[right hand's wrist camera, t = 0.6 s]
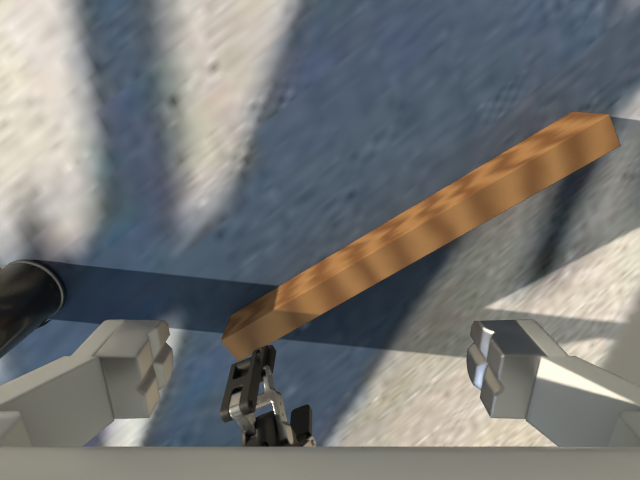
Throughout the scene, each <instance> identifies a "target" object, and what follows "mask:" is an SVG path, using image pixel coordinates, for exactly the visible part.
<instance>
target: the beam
mask: <svg viewBox="0 0 640 480" xmlns="http://www.w3.org/2000/svg"><path fill="white" fill-rule="evenodd" d="M619 146H621V145H620V142H619V139H618V137H617V134H616V131H615V128H614V126H613V123H612V120H611V118H610V115H609V114H597V113H583V112H571V113H569V114H568V115H566V116H564V117H563V118H561V119H559V120H558V121H556V122H554V123H552V124H551V125H549V126H547V127H546V128H544V129H542V130H541V131H539V132H537V133H536V134H534V135H532V136H531V137H529V138H527V139H526V140H524V141H522V142H521V143H519V144H517V145H516V146H514V147H512V148H511V149H509V150H507V151H505V152H504V153H502V154H500V155H499V156H497V157H495V158H494V159H492V160H490V161H489V162H487V163H485V164H484V165H482V166H480V167H479V168H477V169H475V170H474V171H472V172H470V173H469V174H467V175H465V176H464V177H462V178H460V179H458V180H457V181H455V182H453V183H452V184H450V185H448V186H447V187H445V188H443V189H442V190H440V191H438V192H437V193H435V194H433V195H432V196H430V197H428V198H427V199H425V200H423V201H422V202H420V203H418V204H417V205H415V206H413V207H411V208H410V209H408V210H406V211H405V212H403V213H401V214H400V215H398V216H396V217H395V218H393V219H391V220H390V221H388V222H386V223H385V224H383V225H381V226H380V227H378V228H376V229H375V230H373V231H371V232H369V233H368V234H366V235H364V236H363V237H361V238H359V239H358V240H356V241H354V242H353V243H351V244H349V245H348V246H346V247H344V248H343V249H341V250H339V251H338V252H336V253H334V254H333V255H331V256H329V257H328V258H326V259H324V260H322V261H321V262H319V263H317V264H316V265H314V266H312V267H311V268H309V269H307V270H306V271H304V272H302V273H301V274H299V275H297V276H296V277H294V278H292V279H291V280H289V281H287V282H286V283H284V284H282V285H281V286H279V287H277V288H275V289H274V290H272V291H270V292H269V293H267V294H265V295H264V296H262V297H260V298H259V299H257V300H255V301H254V302H252V303H250V304H249V305H247V306H245V307H244V308H242V309H240V310H239V311H237V312H235V313H234V314H232V315H231V317H230V319H229V322H228V324H227V327H226V329H225V332H224V334H223V337H222V339H221V342H222V343H223V344H224V345H225V347H226V348H227V349H228V350H229V351H230V352H231V353H232V355H233V356H234V357H235V358H236V359H237V360H238V361H240V360H242V359H244V358H245V357H247V356H249V355H251V354H252V353H253V351H254V350H256V349H258V348H261V347H263V346H266V345H268V344H270V343H272V342H274V341H275V340H277V339H279V338H281V337H283V336H284V335H286V334H288V333H290V332H291V331H293V330H295V329H297V328H298V327H300V326H302V325H304V324H306V323H307V322H309V321H311V320H313V319H314V318H316V317H318V316H320V315H321V314H323V313H325V312H327V311H329V310H330V309H332V308H334V307H336V306H337V305H339V304H341V303H343V302H345V301H346V300H348V299H350V298H352V297H353V296H355V295H357V294H359V293H360V292H362V291H364V290H366V289H368V288H369V287H371V286H373V285H375V284H376V283H378V282H380V281H382V280H383V279H385V278H387V277H389V276H391V275H392V274H394V273H396V272H398V271H399V270H401V269H403V268H405V267H407V266H408V265H410V264H412V263H414V262H415V261H417V260H419V259H421V258H422V257H424V256H426V255H428V254H430V253H431V252H433V251H435V250H437V249H438V248H440V247H442V246H444V245H445V244H447V243H449V242H451V241H453V240H454V239H456V238H458V237H460V236H461V235H463V234H465V233H467V232H469V231H470V230H472V229H474V228H476V227H477V226H479V225H481V224H483V223H484V222H486V221H488V220H490V219H492V218H493V217H495V216H497V215H499V214H500V213H502V212H504V211H506V210H508V209H509V208H511V207H513V206H515V205H516V204H518V203H520V202H522V201H523V200H525V199H527V198H529V197H531V196H532V195H534V194H536V193H538V192H539V191H541V190H543V189H545V188H546V187H548V186H550V185H552V184H554V183H555V182H557V181H559V180H561V179H562V178H564V177H566V176H568V175H570V174H571V173H573V172H575V171H577V170H578V169H580V168H582V167H584V166H585V165H587V164H589V163H591V162H593V161H594V160H596V159H598V158H600V157H601V156H603V155H605V154H607V153H608V152H610V151H612V150H614V149H616V148H617V147H619Z"/></svg>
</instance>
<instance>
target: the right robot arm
mask: <svg viewBox="0 0 640 480" xmlns="http://www.w3.org/2000/svg"><path fill="white" fill-rule="evenodd" d="M169 335H170V333H169V328H168V324H167V323H166V322H165V320H125V319H122V320H106V321H104V322H103V323H102V324H101V325H100V326H99V327H98V328H97V329H96V330H95V331H94V332H93V333H92V334H91V335H90V337H89V338H88V339H87V340H86V341H85V342H84V343H83V344H82V345H81V346H80V347H79V348H78V349H77V350H76V351H75V352H74V353H73V354H72V355H71V356H64V357H62V358H60V359H57V360H55V361H53V362H51V363H49V364H47V365H45V366H42V367H40V368H38V369H36V370H34V371H32V372H29V373H27V374H25V375H23V376H21V377H19V378H16V379H14V380H12V381H10V382H8V383H6V384H4V385H1V386H0V480H640V386H638V385H636V384H634V383H632V382H630V381H628V380H625V379H623V378H621V377H619V376H617V375H615V374H613V373H610V372H608V371H606V370H604V369H602V368H600V367H598V366H595V365H593V364H591V363H589V362H587V361H585V360H583V359H580V358H578V357H576V356H569V355H568V354H567V353H566V352H565V351H564V350H563V349H562V348H561V347H560V346H559V345H558V344H557V343H556V342H555V341H554V340H553V339H552V338H551V336H550V335H549V334H548V333H547V332H546V331H545V330H544V329H543V328H542V327H541V326H540V325H539V324H538V323H537V322H536V321H534V320H532V319H525V320H496V321H474V322H473V324H472V327H471V332H470V335H471V337H472V339H473V340H474V343H473V344H472V345H471V346H470V347H469V348H468V351H467V370H468V374H469V377H470V379H471V381H472V383H473V385H474V386H476V387H477V388H479V389H480V390H481V395H480V399H481V401H482V402H483V404H484V406H485V408H486V410H487V412H488V414H489V416H490V417H491V418H511V419H526V421H527V422H528V423H530V424H531V425H532V426H533V427H535V428H536V429H537V430H538V431H540V432H541V433H542V434H543V435H545V436H546V437H547V438H548V439H549V440H551V441H552V442H553V443H554V444H556V445H557V446H558V447H82V446H83V445H84V444H86V443H87V442H88V441H89V440H91V439H92V438H93V437H94V436H96V435H97V434H98V433H99V432H101V431H102V430H103V429H104V428H106V427H107V426H108V425H109V424H111V423H112V422H113V421H114V419H128V418H150V416H151V414H152V412H153V410H154V408H155V406H156V404H157V403H158V401H159V399H160V395H159V390H160V389H161V388H163V387H164V386H166V385H167V383H168V381H169V379H170V377H171V373H172V369H173V351H172V348H171V347H170V346H169V345H168V344H167V343H166V340H167V339H168V337H169Z"/></svg>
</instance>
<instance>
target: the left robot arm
mask: <svg viewBox="0 0 640 480" xmlns="http://www.w3.org/2000/svg"><path fill="white" fill-rule="evenodd" d="M65 299H66V291H65V287H64V285H63V282H62V281H61V279H60V278H59V276H58V275H57V274H56V273H55V272H54V271H53V270H52V269H50V268H49V267H47V266H46V265H44V264H42V263H39V262H36V261H33V260H17V261H14V262H11V263H10V264H8V265H6V266H4V267H3V268H0V358H2V357H3V356H4V355H5V354H6V353H8V352H9V351H10V350H11V349H12V348H14V347H15V346H16V345H17V344H18V343H20V342H21V341H22V340H23V339H24V338H26V337H27V336H28V335H29V334H30V333H32V332H33V331H34V330H35V329H37V328H39V327H41V326H43V325H45V324H47V323H48V322H49V321H50V320H49V321H47V322H45V321H46V320H47V319H49V318H50V317H51V316H53V315H55V314H56V313H57V312H58V311H59V310H60V309H61V308H62V307H63V305H64V303H65ZM275 356H276V350H275V348H274V347H273V345H269V346H267V345H266V346H263V347H261V348H258V349H256V350H254V351H253V353H252V357H250V358H247V359H245V360H242V361H240V362H237V363H235V364H232V366H231V370H230V374H229V378H228V382H227V386H226V390H225V394H224V398H223V402H222V406H221V410H220V415H221V418H222V420H223V421H224V422H225V423H226V422H229V421H232V420H235V421H236V422H237V423H238V424H239V426H240V427H241V428H242V432H241V440H242V447H316V442H315V440H314V438H313V437H312V410H311V408H310V406H309V405H304V406H301V407H299V408H296V409H294V410H293V411H292V412H291V421H290V425H289V424H288V422H287V419H286V414H285V409H284V404H283V399H282V395H281V393H280V392H278V391H276V390H275V386H274V381H273V376H272V373H273V369H274V362H275ZM262 381H263V382H264V388H265V391H264V393H262V394H260V395H258V390H259V383H260V382H262ZM270 403H272V405H273V410H274V411H270V412H268V413H265V414H262V415H260V416H258V417H257V418H255V415H254V412H255V410H256V409H257V408H259V407H262V406H265V405H267V404H270Z"/></svg>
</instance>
